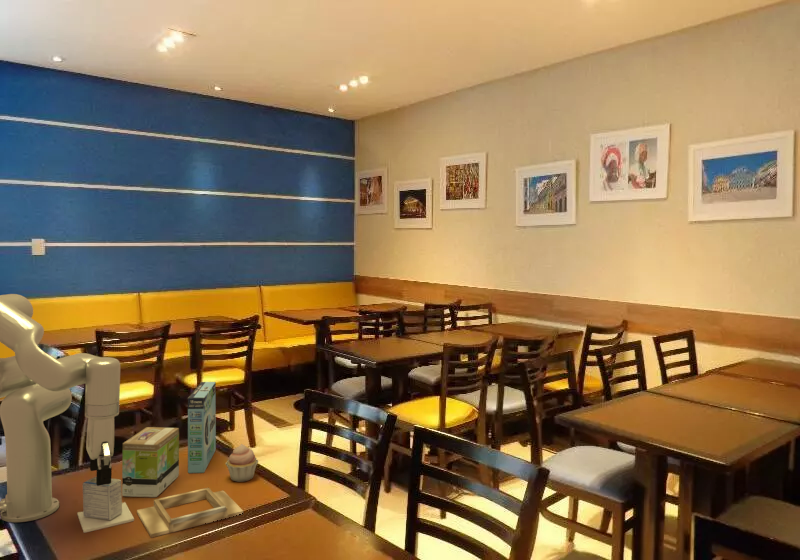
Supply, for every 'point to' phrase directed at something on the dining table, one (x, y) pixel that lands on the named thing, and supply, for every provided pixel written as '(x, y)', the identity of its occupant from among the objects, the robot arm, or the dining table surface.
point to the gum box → (201, 427)
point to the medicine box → (102, 499)
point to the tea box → (150, 461)
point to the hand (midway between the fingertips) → (100, 476)
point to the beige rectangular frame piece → (162, 524)
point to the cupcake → (242, 464)
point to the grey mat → (104, 520)
